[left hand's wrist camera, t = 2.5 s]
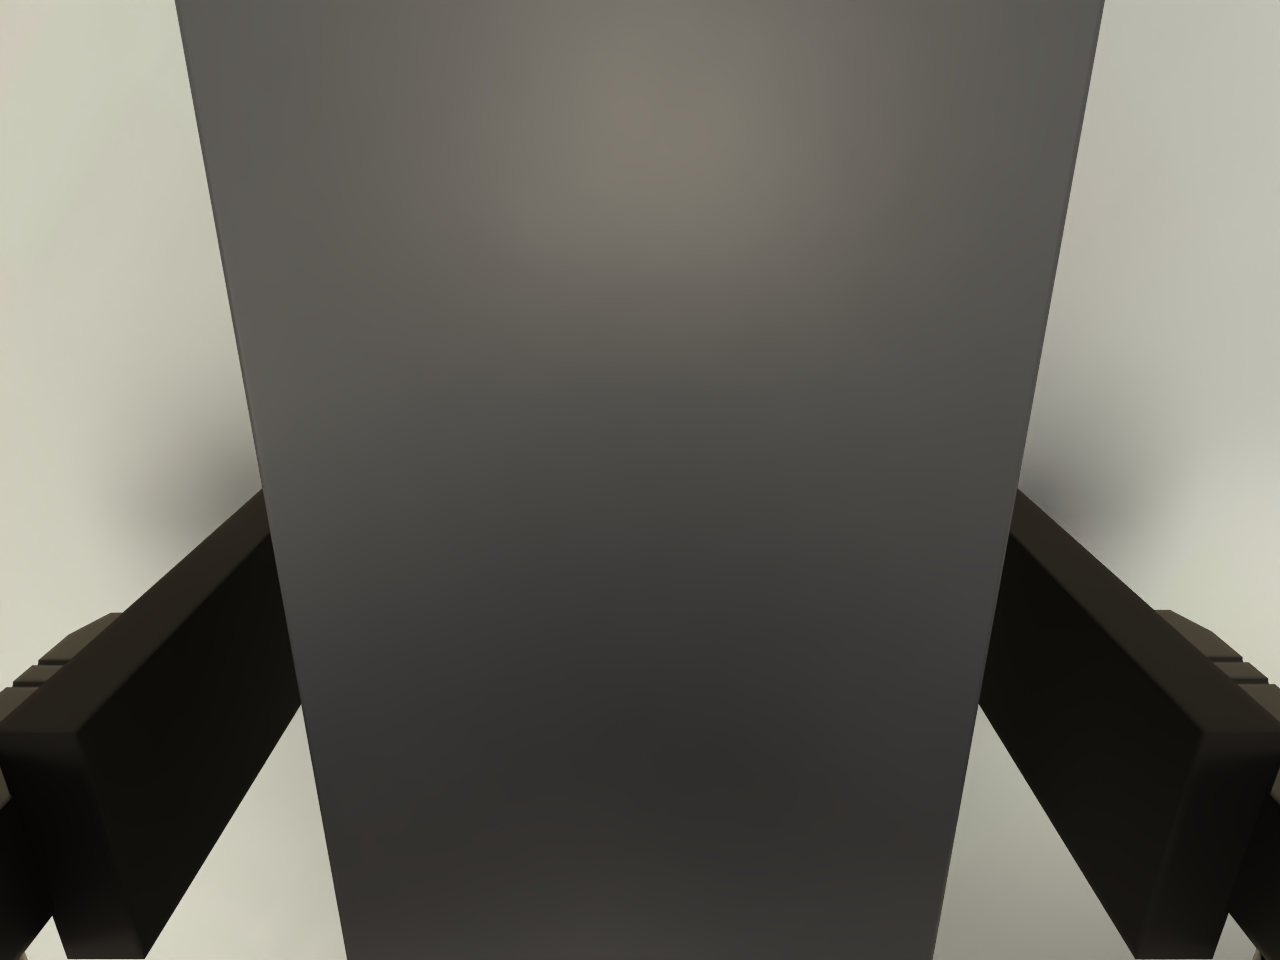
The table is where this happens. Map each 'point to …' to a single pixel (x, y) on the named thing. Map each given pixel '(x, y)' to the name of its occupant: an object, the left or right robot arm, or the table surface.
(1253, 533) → the table surface
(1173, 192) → the table surface
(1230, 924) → the table surface
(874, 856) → the post
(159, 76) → the table surface
